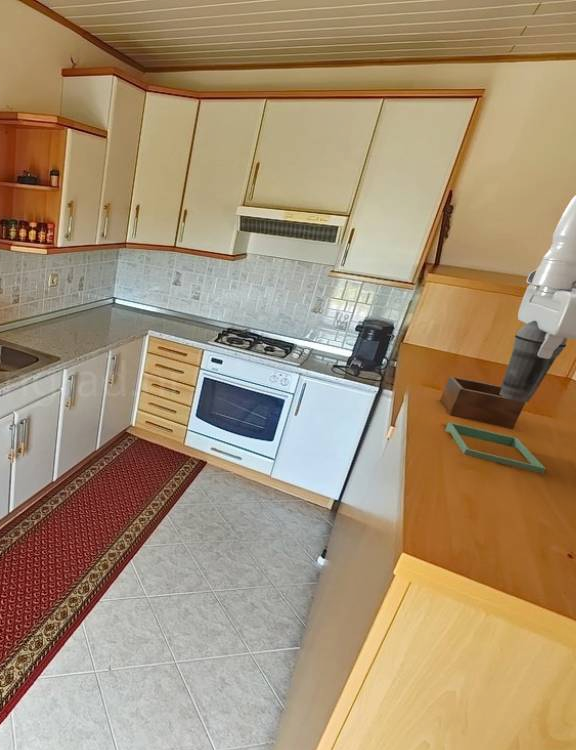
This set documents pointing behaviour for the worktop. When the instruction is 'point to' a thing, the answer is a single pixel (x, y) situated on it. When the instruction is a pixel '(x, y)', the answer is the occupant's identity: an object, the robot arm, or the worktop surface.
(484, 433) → the green rectangular frame
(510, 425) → the brown rectangular open box
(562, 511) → the worktop surface
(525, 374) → the beverage cup
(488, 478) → the worktop surface
